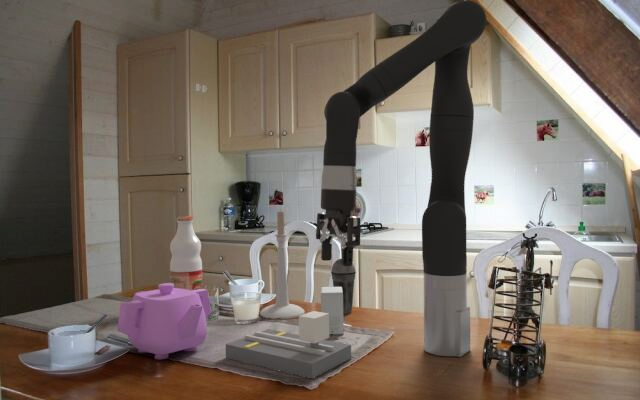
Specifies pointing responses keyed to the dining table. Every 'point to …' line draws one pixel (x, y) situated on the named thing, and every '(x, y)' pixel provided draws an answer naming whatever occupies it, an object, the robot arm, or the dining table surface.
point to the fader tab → (314, 328)
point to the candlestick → (281, 281)
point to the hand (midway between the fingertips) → (336, 263)
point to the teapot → (165, 320)
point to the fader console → (288, 353)
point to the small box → (333, 308)
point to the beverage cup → (344, 282)
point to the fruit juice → (185, 256)
